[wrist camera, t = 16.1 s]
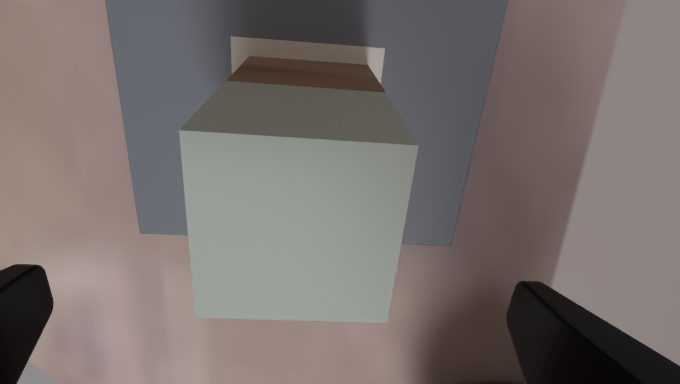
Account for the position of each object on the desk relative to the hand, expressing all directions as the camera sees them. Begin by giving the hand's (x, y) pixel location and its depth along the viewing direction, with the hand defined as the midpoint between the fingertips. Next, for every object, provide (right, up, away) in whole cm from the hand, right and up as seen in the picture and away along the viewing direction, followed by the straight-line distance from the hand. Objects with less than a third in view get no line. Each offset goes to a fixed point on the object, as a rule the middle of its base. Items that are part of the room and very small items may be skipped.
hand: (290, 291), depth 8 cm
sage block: (0, +3, +6) cm, 7 cm away
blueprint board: (-1, +6, +12) cm, 13 cm away
